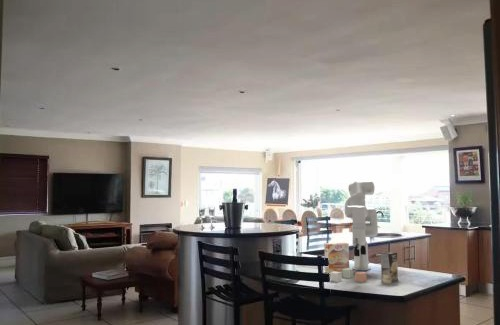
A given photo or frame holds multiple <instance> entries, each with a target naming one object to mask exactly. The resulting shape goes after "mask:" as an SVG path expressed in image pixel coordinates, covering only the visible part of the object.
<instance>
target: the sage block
mask: <svg viewBox="0 0 500 325" xmlns="http://www.w3.org/2000/svg"><path fill="white" fill-rule="evenodd" d="M341 274H342V278H349V279H351V278H354V269H352V268H350V267H349V268H344V269H342V273H341Z"/></svg>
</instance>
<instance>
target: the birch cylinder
mask: <svg viewBox="0 0 500 325" xmlns="http://www.w3.org/2000/svg"><path fill="white" fill-rule="evenodd" d="M381 281H382V284H385V285H391V283H392V282H393V281H391V274H382V276H381Z"/></svg>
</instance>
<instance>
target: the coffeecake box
mask: <svg viewBox="0 0 500 325" xmlns="http://www.w3.org/2000/svg"><path fill="white" fill-rule="evenodd" d="M323 246H324V258H325V257H326V258H328V260H329V266H328V267H325V266H324V272H325V273H326V274H328V273H331V272H334V271H335V272H341V274H342V269H344V268H350V245H349V243H347V242H325V243H324V245H323Z"/></svg>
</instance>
